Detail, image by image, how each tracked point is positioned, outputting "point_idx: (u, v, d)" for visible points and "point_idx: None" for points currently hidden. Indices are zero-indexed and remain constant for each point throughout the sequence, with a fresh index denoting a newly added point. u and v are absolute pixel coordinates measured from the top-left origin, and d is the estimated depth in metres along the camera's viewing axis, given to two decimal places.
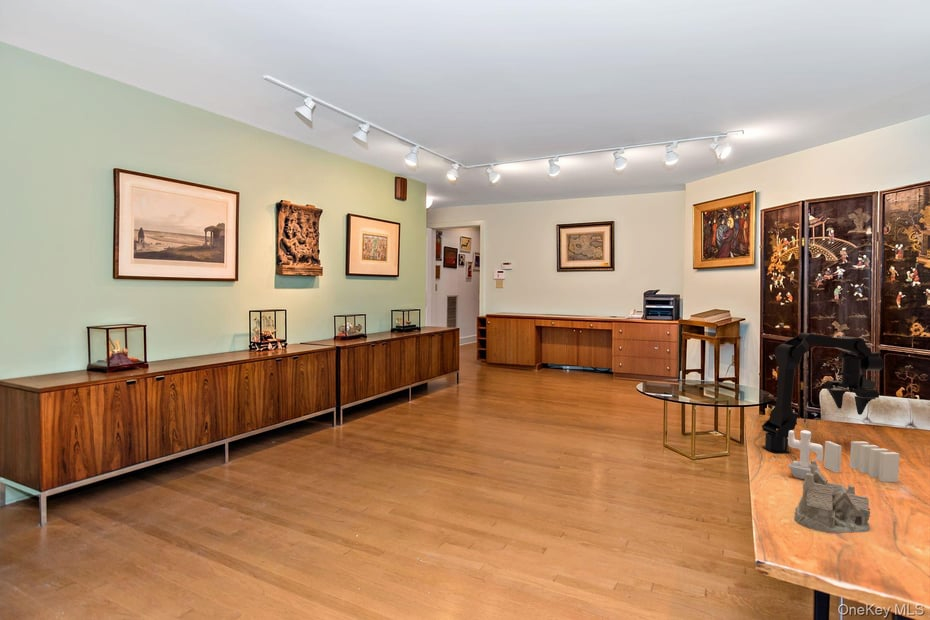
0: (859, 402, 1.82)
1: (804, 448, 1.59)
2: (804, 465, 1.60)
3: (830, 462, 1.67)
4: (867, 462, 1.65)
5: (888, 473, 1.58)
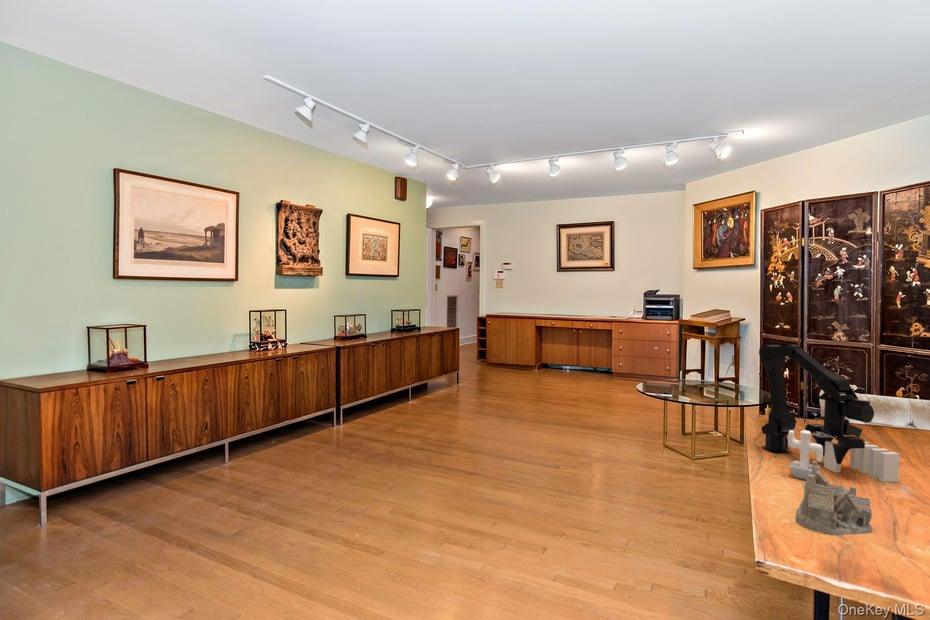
0: (838, 450, 1.63)
1: (804, 448, 1.60)
2: (804, 465, 1.60)
3: (830, 462, 1.67)
4: (867, 462, 1.65)
5: (888, 473, 1.58)
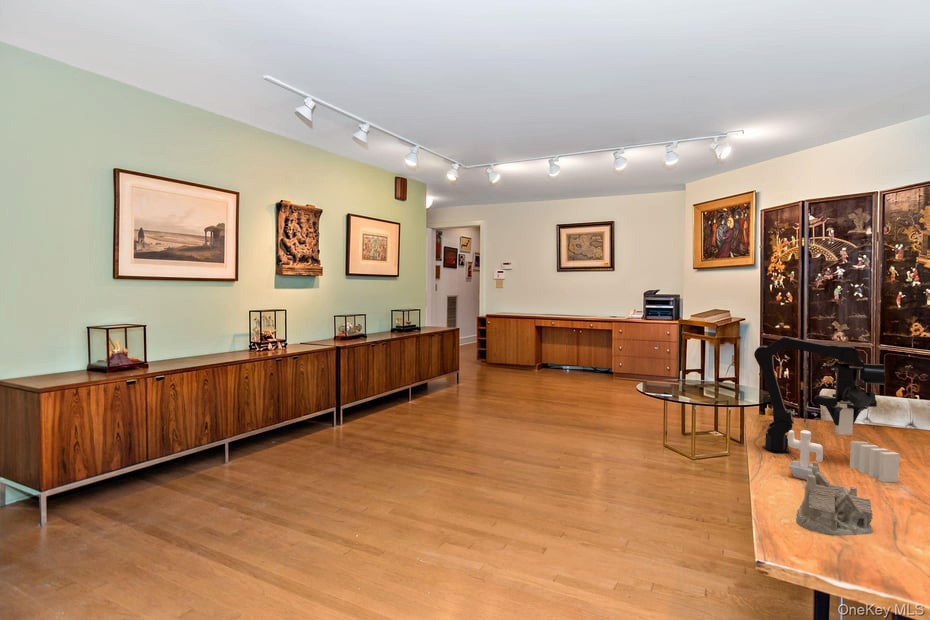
0: (828, 410, 1.77)
1: (804, 448, 1.59)
2: (804, 465, 1.60)
3: None
4: (867, 462, 1.65)
5: (888, 473, 1.58)
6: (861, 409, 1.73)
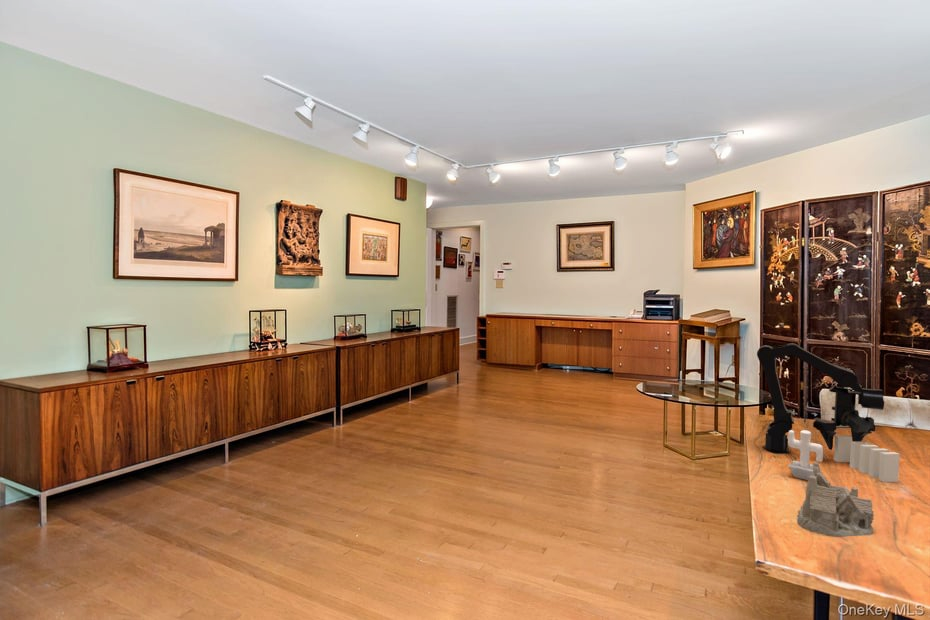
0: (822, 434, 1.77)
1: (804, 448, 1.59)
2: (804, 465, 1.60)
3: None
4: (867, 462, 1.65)
5: (888, 473, 1.58)
6: (865, 434, 1.74)
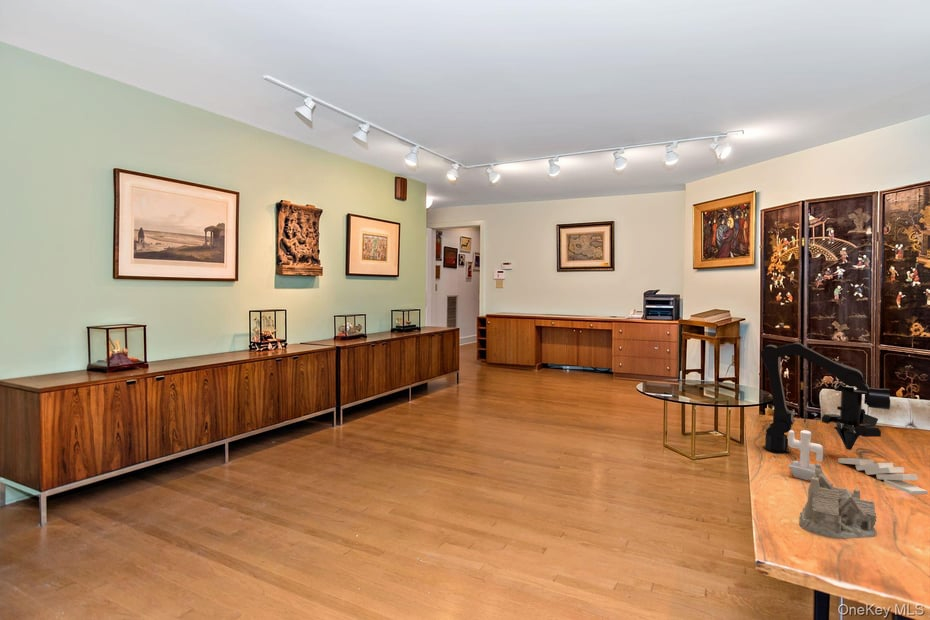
0: (848, 437, 1.71)
1: (804, 448, 1.59)
2: (804, 465, 1.60)
3: (850, 458, 1.73)
4: (879, 473, 1.60)
5: None
6: None
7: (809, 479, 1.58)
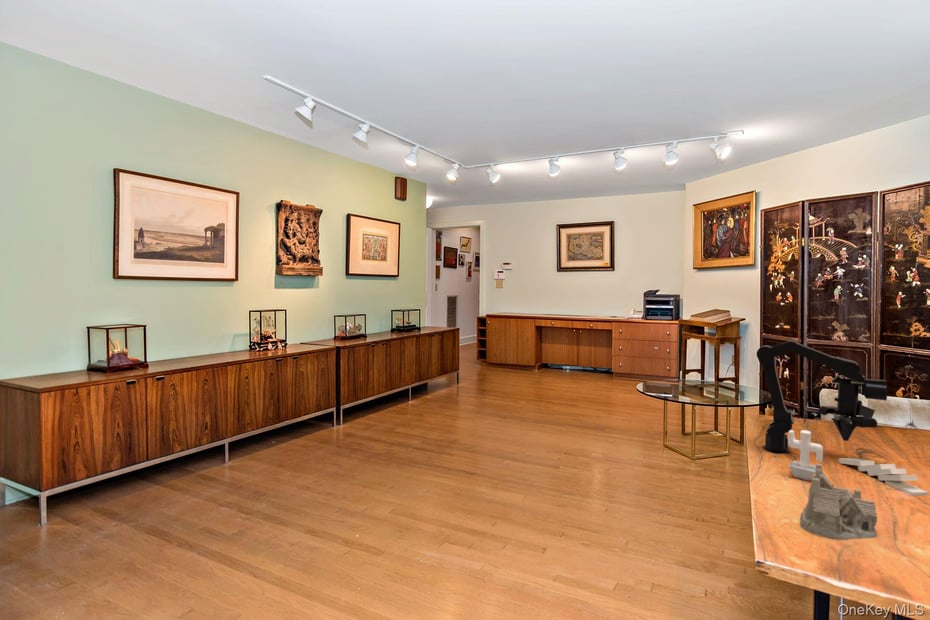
0: (845, 428, 1.73)
1: (804, 448, 1.60)
2: (804, 465, 1.60)
3: None
4: None
5: None
6: None
7: (809, 479, 1.58)
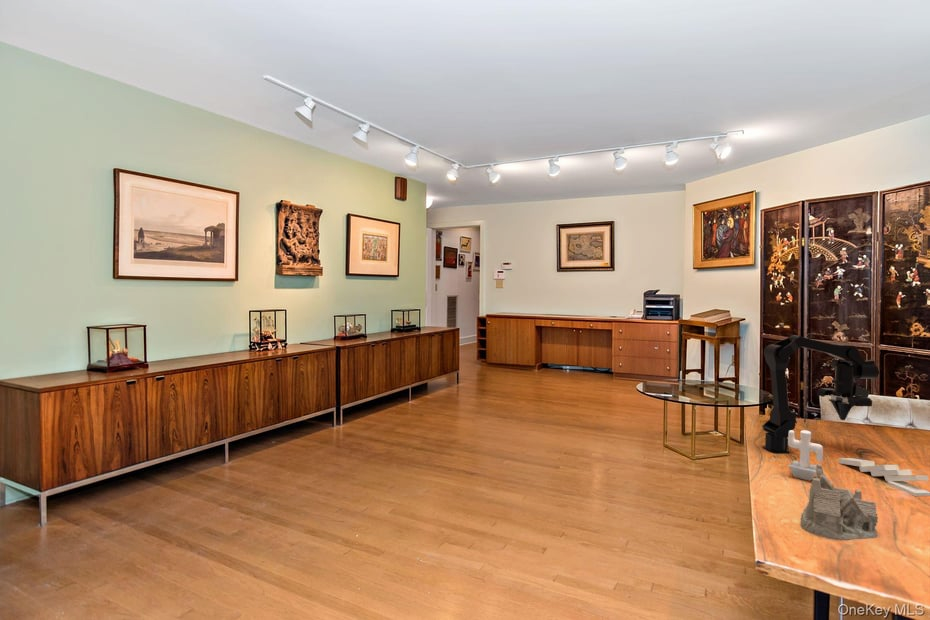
0: (842, 408, 1.84)
1: (804, 448, 1.59)
2: (804, 465, 1.60)
3: (850, 459, 1.72)
4: (885, 475, 1.59)
5: None
6: None
7: (809, 479, 1.58)
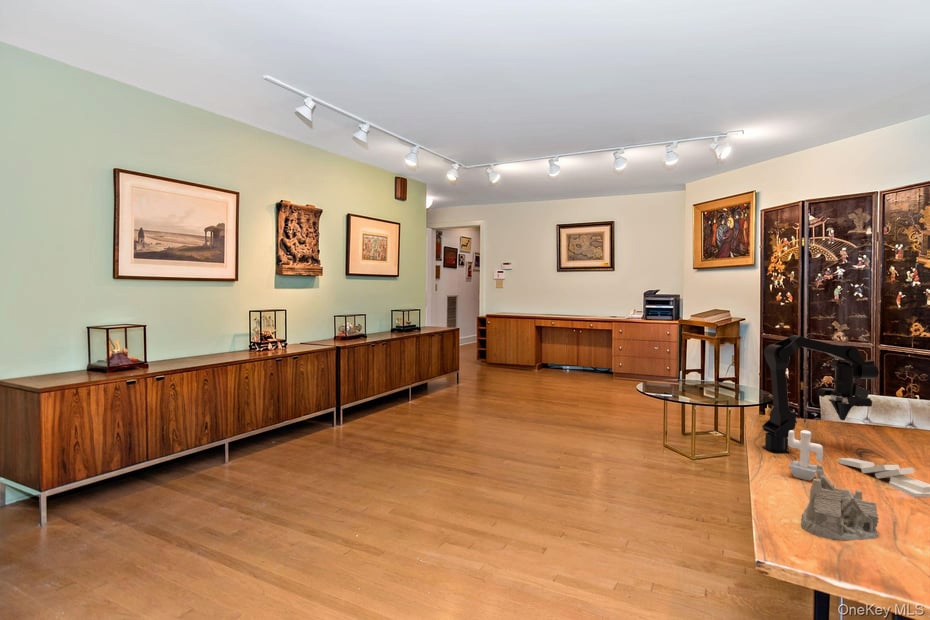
0: (842, 408, 1.84)
1: (804, 448, 1.59)
2: (804, 465, 1.60)
3: (850, 459, 1.72)
4: None
5: None
6: None
7: (809, 479, 1.58)
